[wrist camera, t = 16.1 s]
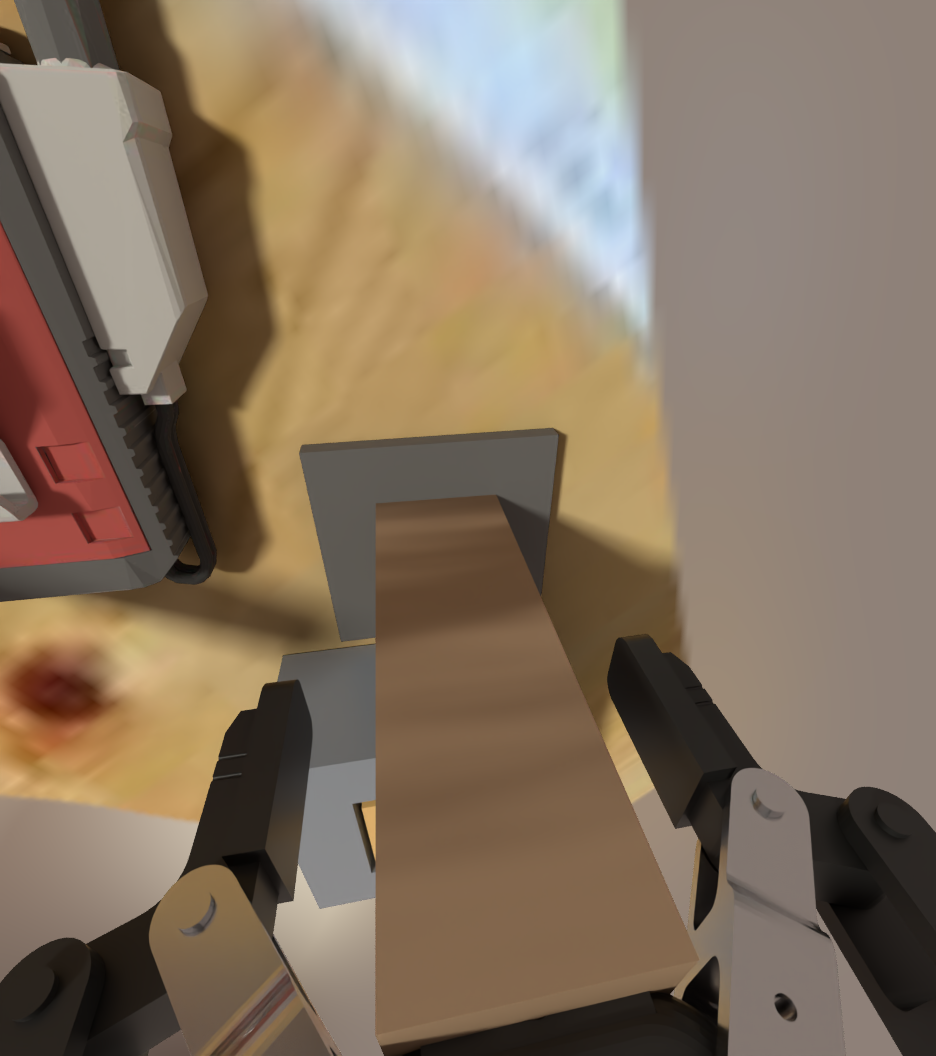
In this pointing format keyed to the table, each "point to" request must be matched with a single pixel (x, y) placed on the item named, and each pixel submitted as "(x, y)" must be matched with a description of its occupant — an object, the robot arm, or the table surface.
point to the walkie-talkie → (91, 321)
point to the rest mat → (420, 474)
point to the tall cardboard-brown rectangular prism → (495, 799)
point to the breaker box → (338, 771)
